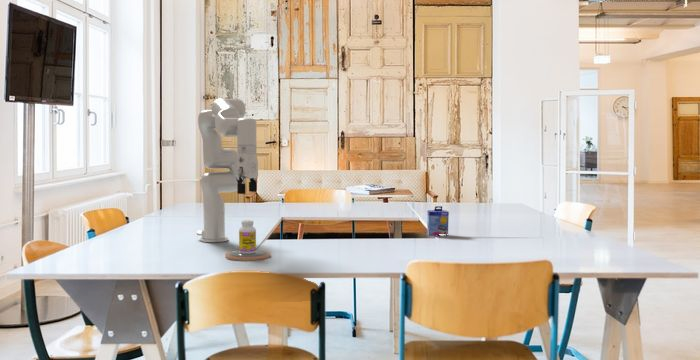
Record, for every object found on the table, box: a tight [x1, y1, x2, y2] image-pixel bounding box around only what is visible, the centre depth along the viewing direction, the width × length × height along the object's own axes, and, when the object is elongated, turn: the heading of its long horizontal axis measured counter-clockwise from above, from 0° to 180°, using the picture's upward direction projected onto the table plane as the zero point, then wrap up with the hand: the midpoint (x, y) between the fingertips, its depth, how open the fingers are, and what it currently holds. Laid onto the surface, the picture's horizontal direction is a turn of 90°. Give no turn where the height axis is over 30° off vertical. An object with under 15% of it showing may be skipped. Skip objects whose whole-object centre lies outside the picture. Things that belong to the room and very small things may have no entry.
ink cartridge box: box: [426, 205, 450, 237], centre depth 313 cm, size 10×6×14 cm, turn 94°
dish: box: [224, 249, 272, 262], centre depth 257 cm, size 18×18×1 cm
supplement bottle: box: [238, 219, 257, 254], centre depth 257 cm, size 7×7×13 cm
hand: (247, 192), depth 256 cm, fingers open, 9 cm apart
